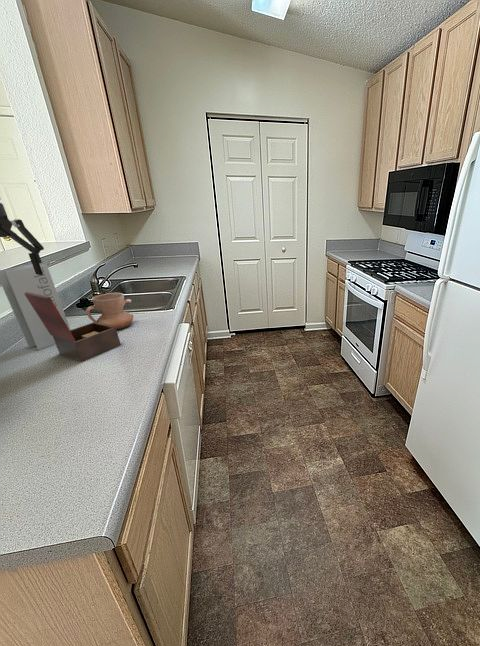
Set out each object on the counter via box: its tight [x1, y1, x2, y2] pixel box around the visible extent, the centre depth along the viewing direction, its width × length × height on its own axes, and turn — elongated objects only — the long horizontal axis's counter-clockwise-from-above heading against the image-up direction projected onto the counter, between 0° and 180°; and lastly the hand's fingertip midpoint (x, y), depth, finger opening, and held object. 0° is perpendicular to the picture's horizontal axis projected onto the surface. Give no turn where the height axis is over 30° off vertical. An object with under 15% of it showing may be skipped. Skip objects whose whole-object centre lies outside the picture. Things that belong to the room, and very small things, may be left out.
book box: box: [53, 321, 122, 362], centre depth 125 cm, size 16×14×8 cm
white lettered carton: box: [0, 263, 71, 351], centre depth 127 cm, size 14×6×30 cm, turn 159°
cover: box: [24, 292, 75, 342], centre depth 112 cm, size 16×14×1 cm
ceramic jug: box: [85, 292, 134, 331], centre depth 145 cm, size 18×14×14 cm
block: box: [82, 331, 98, 339], centre depth 127 cm, size 5×5×5 cm
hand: (15, 279), depth 101 cm, fingers open, 13 cm apart
